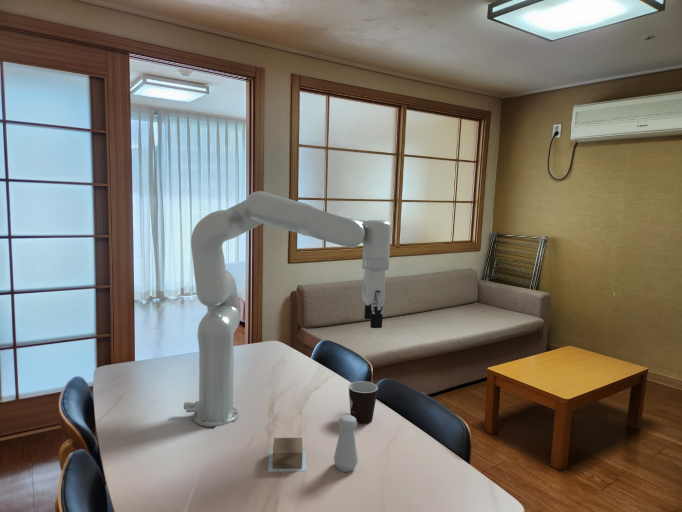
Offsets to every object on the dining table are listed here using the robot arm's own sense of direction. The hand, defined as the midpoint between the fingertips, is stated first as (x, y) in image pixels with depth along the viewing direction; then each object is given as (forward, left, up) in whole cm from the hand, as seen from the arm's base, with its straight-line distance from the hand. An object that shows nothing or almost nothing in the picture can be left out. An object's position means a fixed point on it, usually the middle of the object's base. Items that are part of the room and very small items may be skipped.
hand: (372, 323), depth 134 cm
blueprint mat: (-23, -21, -30) cm, 43 cm away
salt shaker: (-9, -24, -30) cm, 39 cm away
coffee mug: (-1, +3, -30) cm, 30 cm away
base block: (-23, -21, -29) cm, 43 cm away
